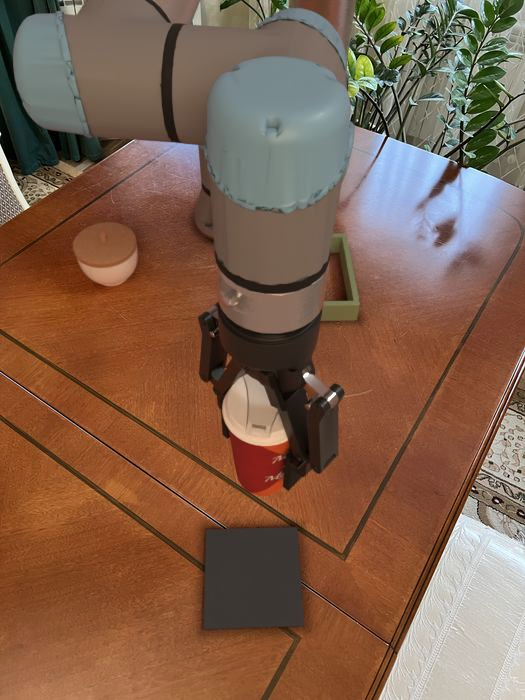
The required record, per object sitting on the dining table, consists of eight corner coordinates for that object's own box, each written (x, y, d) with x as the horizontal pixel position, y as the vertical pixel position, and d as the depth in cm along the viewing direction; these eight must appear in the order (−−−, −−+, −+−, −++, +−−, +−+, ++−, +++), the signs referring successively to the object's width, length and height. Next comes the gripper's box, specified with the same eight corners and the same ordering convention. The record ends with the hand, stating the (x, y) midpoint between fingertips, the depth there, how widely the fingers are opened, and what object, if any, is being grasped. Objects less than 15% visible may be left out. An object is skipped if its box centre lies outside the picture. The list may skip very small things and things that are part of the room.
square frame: (249, 250, 109) (249, 234, 105) (343, 249, 109) (346, 233, 106) (252, 322, 98) (252, 306, 94) (356, 320, 98) (360, 304, 95)
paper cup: (291, 512, 59) (301, 445, 48) (219, 497, 60) (211, 429, 49) (303, 446, 63) (314, 371, 52) (236, 433, 64) (233, 357, 53)
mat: (205, 530, 75) (205, 529, 75) (296, 528, 76) (297, 526, 75) (203, 630, 68) (203, 629, 68) (304, 626, 68) (304, 625, 68)
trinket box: (152, 262, 106) (145, 222, 99) (125, 302, 100) (115, 262, 92) (101, 248, 108) (90, 208, 101) (71, 286, 102) (57, 247, 94)
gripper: (135, 256, 43) (168, 416, 61) (354, 418, 34) (317, 549, 52) (207, 210, 46) (219, 375, 64) (422, 347, 38) (366, 493, 56)
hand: (263, 453), depth 58 cm, fingers closed on paper cup, 8 cm apart
